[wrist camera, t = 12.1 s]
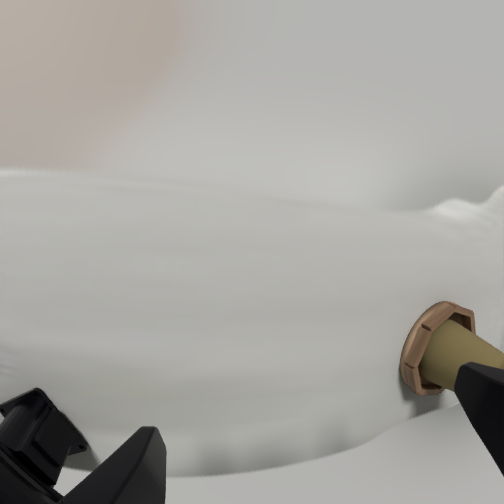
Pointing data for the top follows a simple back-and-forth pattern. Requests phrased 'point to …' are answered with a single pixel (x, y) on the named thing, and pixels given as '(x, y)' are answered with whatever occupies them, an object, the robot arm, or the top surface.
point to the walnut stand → (421, 337)
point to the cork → (455, 354)
